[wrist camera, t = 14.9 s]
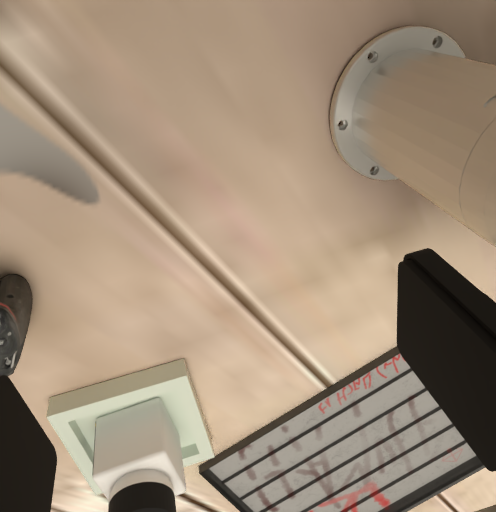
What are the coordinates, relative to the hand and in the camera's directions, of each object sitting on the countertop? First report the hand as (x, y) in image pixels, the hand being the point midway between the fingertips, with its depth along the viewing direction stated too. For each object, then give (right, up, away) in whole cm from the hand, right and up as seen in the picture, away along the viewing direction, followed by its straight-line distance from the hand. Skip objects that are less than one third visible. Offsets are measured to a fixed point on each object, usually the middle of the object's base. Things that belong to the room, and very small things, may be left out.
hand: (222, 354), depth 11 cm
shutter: (+15, -26, +54) cm, 62 cm away
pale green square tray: (-12, -16, +40) cm, 45 cm away
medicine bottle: (-11, -16, +39) cm, 44 cm away
